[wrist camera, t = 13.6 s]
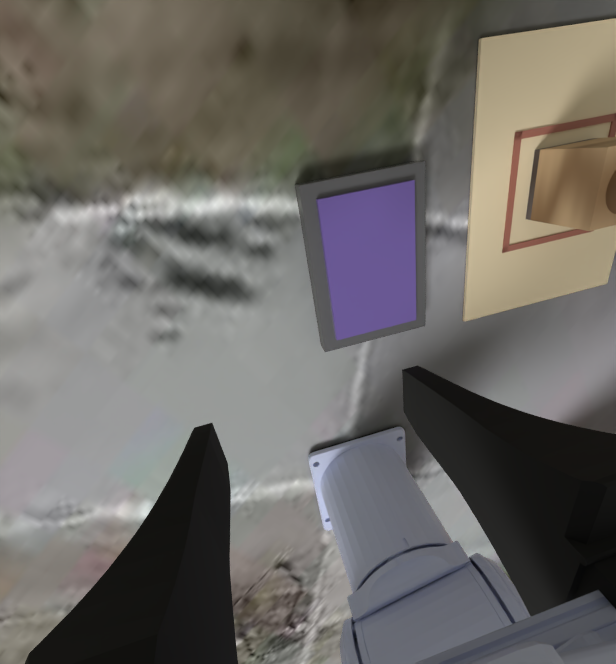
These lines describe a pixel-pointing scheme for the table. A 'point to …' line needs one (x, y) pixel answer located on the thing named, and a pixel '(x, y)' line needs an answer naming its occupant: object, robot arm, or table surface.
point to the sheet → (517, 161)
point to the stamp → (574, 185)
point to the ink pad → (366, 252)
